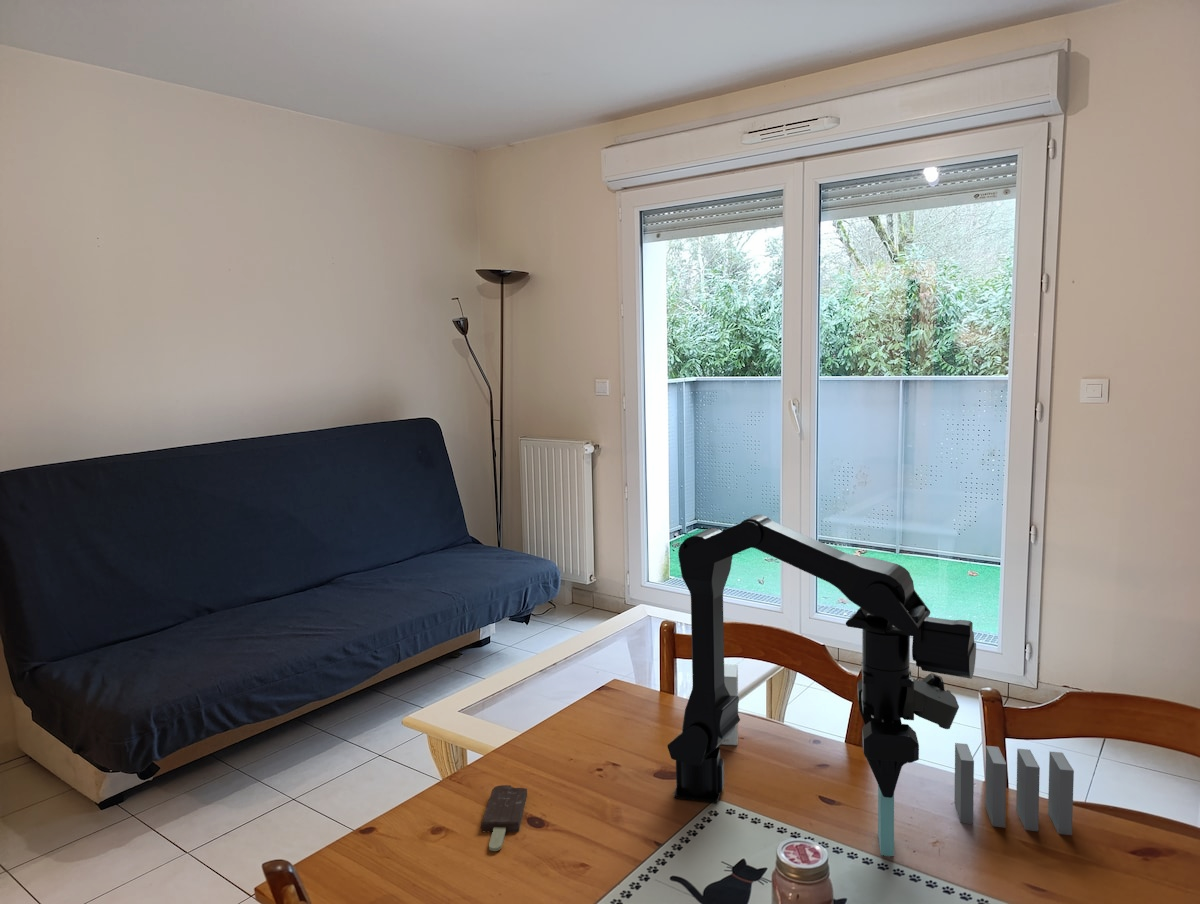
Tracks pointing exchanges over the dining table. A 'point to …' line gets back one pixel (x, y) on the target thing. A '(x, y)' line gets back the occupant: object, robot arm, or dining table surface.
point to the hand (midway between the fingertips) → (884, 778)
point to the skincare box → (732, 689)
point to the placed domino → (886, 824)
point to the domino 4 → (1060, 793)
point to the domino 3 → (1027, 789)
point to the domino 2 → (995, 786)
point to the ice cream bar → (503, 813)
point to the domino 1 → (964, 783)
